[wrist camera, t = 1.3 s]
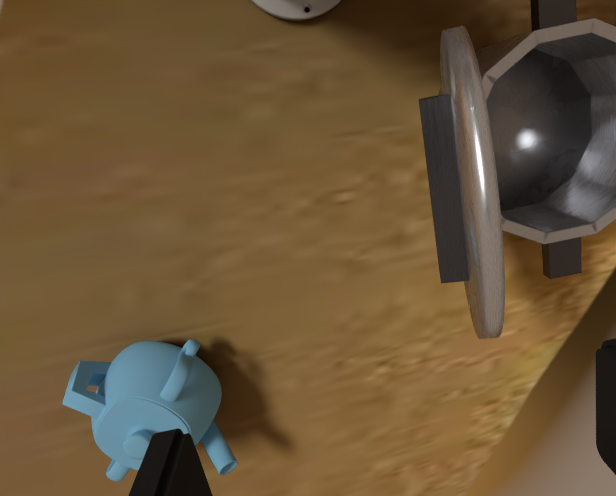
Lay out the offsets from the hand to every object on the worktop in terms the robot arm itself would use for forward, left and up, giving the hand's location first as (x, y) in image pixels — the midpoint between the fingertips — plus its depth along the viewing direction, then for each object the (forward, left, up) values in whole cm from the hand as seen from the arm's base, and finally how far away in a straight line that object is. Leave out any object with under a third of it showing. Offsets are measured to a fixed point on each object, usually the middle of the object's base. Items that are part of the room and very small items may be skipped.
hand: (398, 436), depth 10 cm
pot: (0, +22, -40) cm, 46 cm away
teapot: (+21, -21, -40) cm, 50 cm away
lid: (0, +10, -20) cm, 22 cm away
